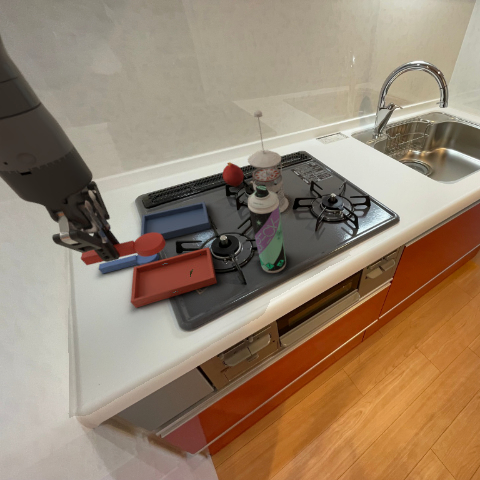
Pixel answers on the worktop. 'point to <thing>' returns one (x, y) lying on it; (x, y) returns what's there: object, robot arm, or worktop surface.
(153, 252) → the red spoon
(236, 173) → the onion
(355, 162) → the worktop surface
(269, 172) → the french press
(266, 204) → the spray can
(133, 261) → the blue spoon
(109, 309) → the worktop surface
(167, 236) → the blue tray
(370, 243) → the worktop surface
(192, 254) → the red tray
